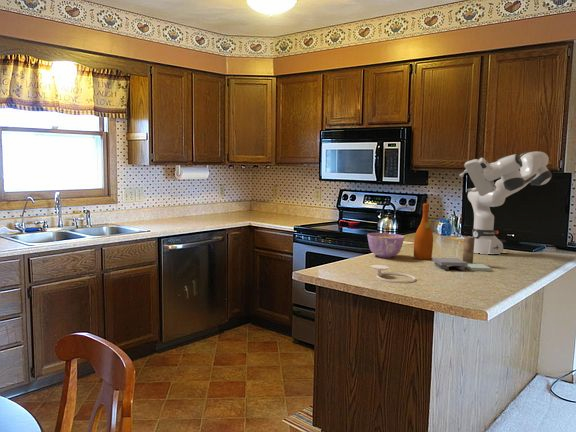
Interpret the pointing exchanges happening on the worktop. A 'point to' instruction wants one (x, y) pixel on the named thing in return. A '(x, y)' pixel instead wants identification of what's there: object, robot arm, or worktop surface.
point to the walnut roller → (468, 249)
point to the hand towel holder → (382, 267)
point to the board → (478, 267)
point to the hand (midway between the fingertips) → (463, 183)
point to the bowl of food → (385, 244)
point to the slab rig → (450, 263)
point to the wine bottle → (424, 237)
